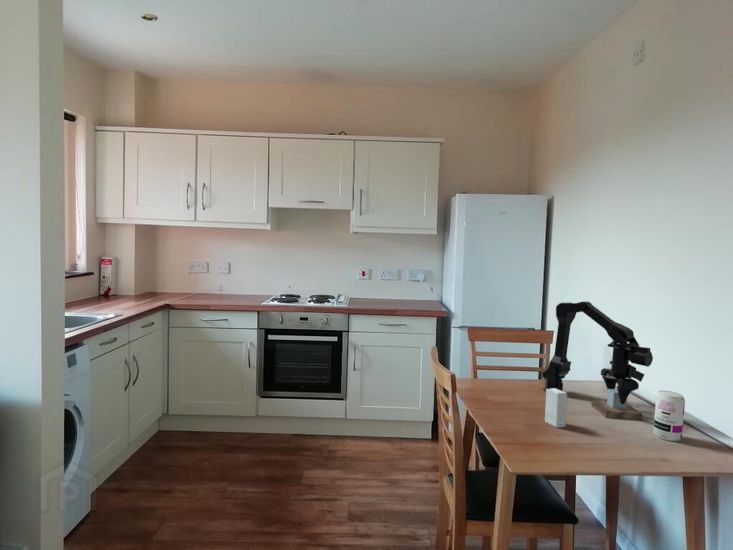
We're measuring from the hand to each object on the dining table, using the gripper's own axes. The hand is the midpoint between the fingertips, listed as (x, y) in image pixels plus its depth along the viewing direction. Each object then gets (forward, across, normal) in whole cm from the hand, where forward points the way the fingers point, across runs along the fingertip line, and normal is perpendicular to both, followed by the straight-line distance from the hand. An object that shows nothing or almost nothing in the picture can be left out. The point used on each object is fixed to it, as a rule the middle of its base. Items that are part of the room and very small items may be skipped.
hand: (616, 400), depth 182 cm
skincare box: (+5, -18, +29) cm, 35 cm away
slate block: (+2, 0, 0) cm, 2 cm away
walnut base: (+5, 0, 0) cm, 5 cm away
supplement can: (+5, -22, -7) cm, 24 cm away
